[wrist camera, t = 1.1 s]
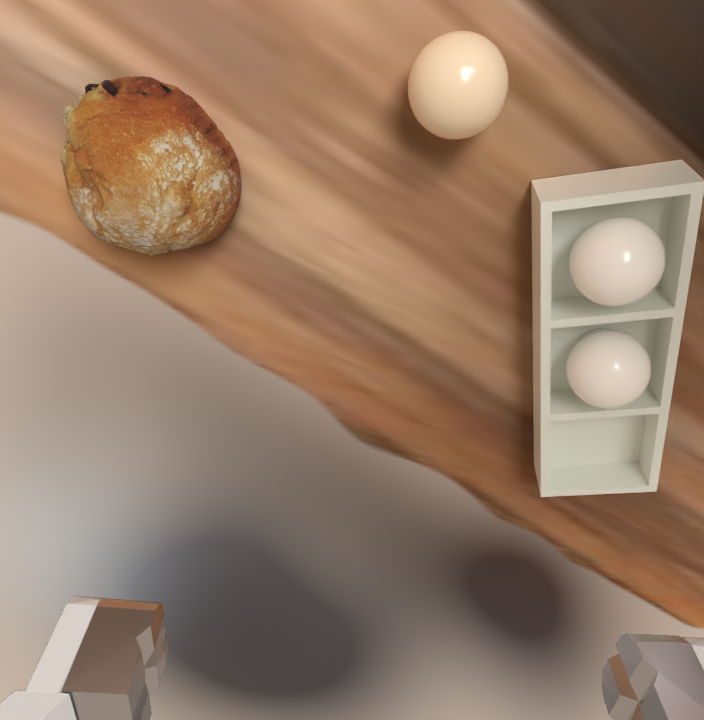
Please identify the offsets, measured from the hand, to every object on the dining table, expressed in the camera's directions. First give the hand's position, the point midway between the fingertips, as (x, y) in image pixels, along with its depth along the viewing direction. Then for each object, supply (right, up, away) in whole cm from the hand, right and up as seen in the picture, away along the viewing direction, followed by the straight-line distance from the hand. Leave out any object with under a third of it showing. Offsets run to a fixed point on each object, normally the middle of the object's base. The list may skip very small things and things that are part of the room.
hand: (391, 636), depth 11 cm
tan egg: (+5, +20, +22) cm, 30 cm away
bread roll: (-13, +17, +26) cm, 34 cm away
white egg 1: (+14, +12, +25) cm, 32 cm away
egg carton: (+16, +6, +31) cm, 35 cm away
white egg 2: (+16, +6, +30) cm, 34 cm away
